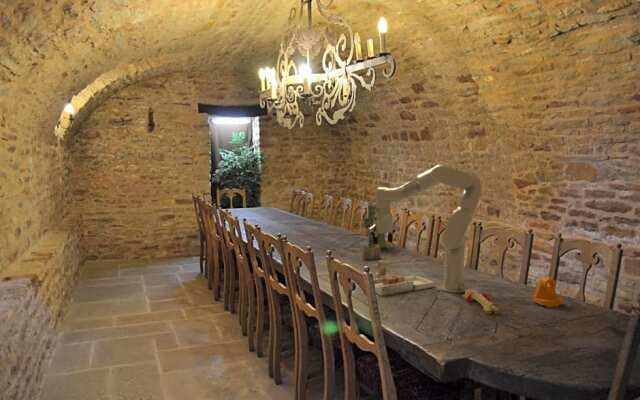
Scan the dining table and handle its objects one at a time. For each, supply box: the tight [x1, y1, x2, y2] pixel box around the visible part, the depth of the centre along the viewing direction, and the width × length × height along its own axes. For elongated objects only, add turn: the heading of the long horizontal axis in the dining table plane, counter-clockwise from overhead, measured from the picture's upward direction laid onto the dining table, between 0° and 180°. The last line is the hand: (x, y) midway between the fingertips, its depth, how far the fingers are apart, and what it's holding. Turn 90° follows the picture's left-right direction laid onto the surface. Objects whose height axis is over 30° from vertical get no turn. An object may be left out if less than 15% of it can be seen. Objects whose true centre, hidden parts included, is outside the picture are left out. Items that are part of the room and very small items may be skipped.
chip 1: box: [383, 275, 396, 285], centre depth 254 cm, size 4×4×3 cm
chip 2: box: [391, 274, 406, 283], centre depth 256 cm, size 4×4×3 cm
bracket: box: [532, 275, 564, 308], centre depth 231 cm, size 11×7×12 cm, turn 99°
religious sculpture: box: [363, 204, 387, 249], centre depth 356 cm, size 24×12×30 cm, turn 15°
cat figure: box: [462, 288, 500, 315], centre depth 229 cm, size 10×9×25 cm
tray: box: [404, 275, 436, 291], centre depth 262 cm, size 15×13×2 cm
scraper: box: [374, 260, 390, 279], centre depth 269 cm, size 8×3×11 cm, turn 30°
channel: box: [373, 275, 414, 297], centre depth 254 cm, size 13×20×4 cm, turn 120°
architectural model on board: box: [362, 244, 382, 261], centre depth 322 cm, size 11×3×10 cm, turn 115°
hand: (382, 243), depth 268 cm, fingers open, 9 cm apart
